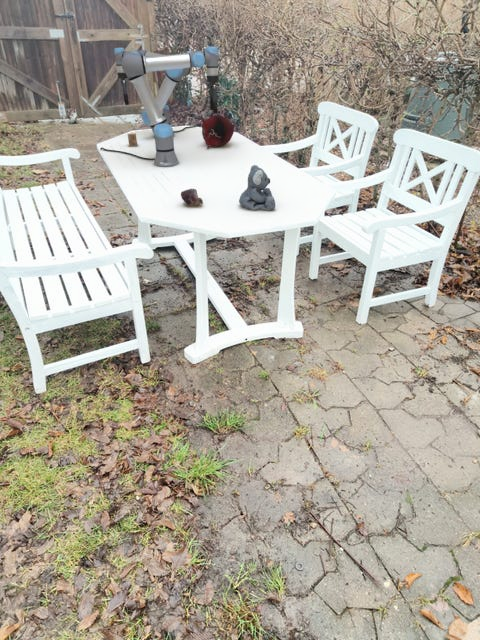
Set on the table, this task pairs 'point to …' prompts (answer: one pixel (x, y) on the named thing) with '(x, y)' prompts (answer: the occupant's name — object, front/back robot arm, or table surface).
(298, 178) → the table surface
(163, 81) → the back robot arm
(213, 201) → the table surface
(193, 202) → the rock
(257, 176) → the koala plush
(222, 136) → the dark red rounded piece
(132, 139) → the block
